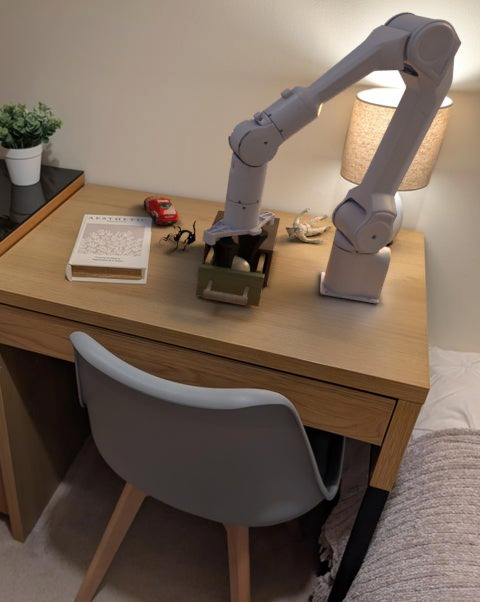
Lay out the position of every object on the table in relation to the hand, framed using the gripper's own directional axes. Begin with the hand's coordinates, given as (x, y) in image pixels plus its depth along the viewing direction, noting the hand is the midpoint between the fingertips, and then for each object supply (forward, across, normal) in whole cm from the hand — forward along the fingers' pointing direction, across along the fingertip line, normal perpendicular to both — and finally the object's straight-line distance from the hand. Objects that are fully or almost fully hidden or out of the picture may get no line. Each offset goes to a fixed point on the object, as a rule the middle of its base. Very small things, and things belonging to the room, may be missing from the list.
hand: (233, 270), depth 99 cm
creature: (+5, +3, +19) cm, 20 cm away
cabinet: (+4, +9, +7) cm, 12 cm away
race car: (+5, +10, +33) cm, 35 cm away
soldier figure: (+5, +30, +7) cm, 31 cm away
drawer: (+4, 0, 0) cm, 4 cm away
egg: (+1, 0, 0) cm, 1 cm away
